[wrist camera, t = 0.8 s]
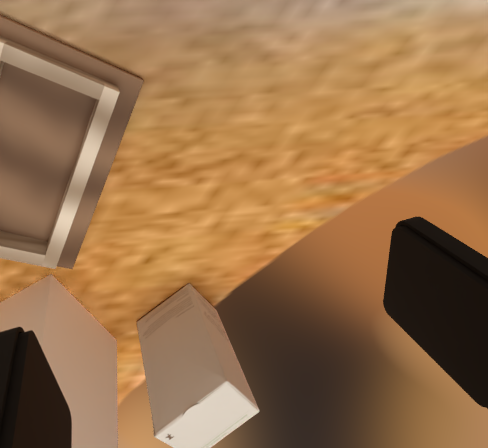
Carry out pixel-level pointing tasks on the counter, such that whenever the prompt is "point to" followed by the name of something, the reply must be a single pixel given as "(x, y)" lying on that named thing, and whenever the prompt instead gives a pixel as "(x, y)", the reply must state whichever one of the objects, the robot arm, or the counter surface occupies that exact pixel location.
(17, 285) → the counter surface
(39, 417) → the robot arm
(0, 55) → the brown rectangular tray
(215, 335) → the skincare box
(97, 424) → the milk
